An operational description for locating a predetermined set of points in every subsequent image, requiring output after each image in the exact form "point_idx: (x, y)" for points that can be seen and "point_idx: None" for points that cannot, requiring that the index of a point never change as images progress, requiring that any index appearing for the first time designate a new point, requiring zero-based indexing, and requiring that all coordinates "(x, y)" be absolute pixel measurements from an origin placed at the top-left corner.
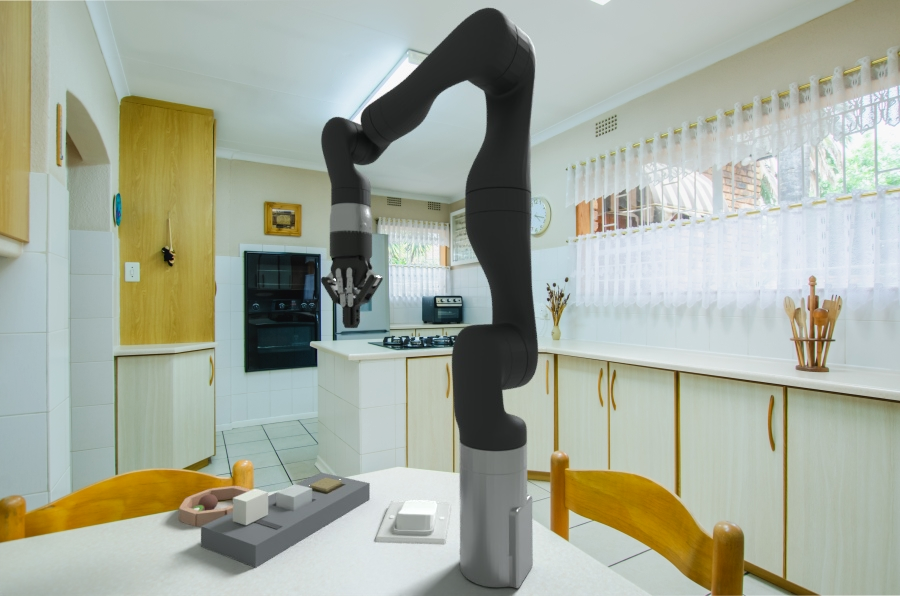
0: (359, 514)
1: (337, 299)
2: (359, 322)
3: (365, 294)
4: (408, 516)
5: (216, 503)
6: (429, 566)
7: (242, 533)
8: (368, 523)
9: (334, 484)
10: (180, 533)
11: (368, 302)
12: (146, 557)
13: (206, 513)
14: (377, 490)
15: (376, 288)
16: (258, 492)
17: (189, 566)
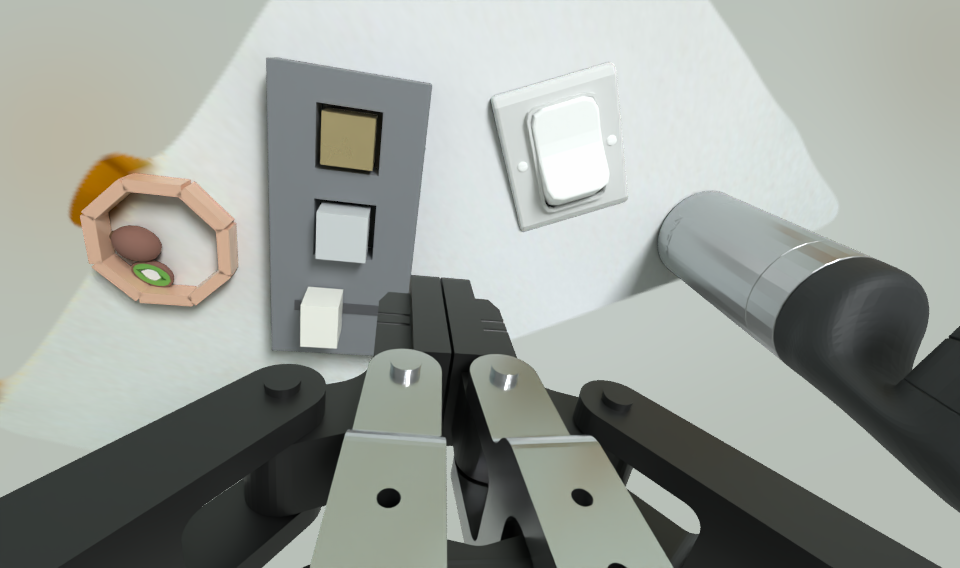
0: (447, 155)
1: (313, 512)
2: (496, 309)
3: (677, 539)
4: (571, 198)
5: (157, 240)
6: (617, 259)
7: (355, 342)
8: (482, 182)
9: (372, 143)
10: (204, 319)
11: (625, 386)
12: (237, 376)
13: (207, 295)
14: (420, 24)
15: (819, 511)
16: (322, 315)
17: (316, 368)
